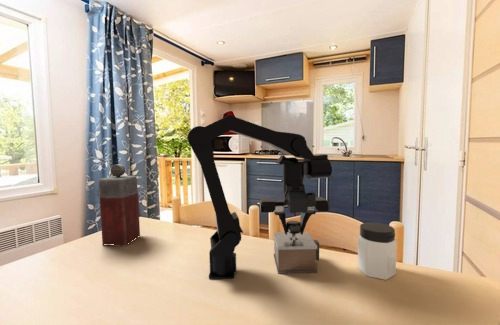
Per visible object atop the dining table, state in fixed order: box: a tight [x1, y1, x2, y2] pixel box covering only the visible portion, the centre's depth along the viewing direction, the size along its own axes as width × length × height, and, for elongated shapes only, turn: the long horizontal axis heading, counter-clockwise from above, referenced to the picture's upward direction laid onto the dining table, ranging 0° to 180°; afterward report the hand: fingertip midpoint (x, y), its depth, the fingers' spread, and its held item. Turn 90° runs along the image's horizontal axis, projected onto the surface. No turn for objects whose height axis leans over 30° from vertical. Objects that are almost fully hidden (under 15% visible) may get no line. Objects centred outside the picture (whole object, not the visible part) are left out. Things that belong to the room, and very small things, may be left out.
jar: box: [357, 221, 397, 281], centre depth 64 cm, size 9×8×12 cm
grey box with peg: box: [273, 231, 320, 274], centre depth 70 cm, size 12×10×7 cm
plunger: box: [286, 220, 301, 240], centre depth 69 cm, size 8×8×11 cm
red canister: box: [98, 163, 141, 246], centre depth 89 cm, size 9×11×28 cm
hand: (293, 234), depth 69 cm, fingers closed on plunger, 4 cm apart
